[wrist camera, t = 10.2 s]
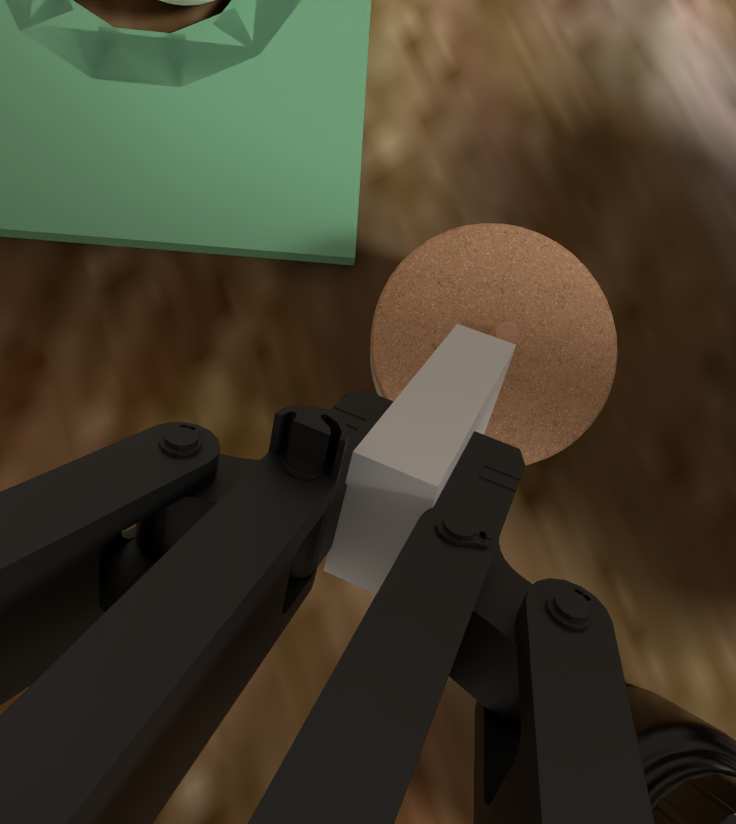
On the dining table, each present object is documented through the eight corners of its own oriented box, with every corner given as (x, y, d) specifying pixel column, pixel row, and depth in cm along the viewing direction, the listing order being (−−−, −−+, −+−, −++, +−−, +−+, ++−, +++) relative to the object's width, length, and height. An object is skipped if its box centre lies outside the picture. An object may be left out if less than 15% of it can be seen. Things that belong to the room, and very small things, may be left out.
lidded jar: (367, 267, 38) (385, 192, 28) (561, 287, 38) (640, 219, 29) (351, 466, 36) (365, 454, 27) (552, 482, 37) (633, 476, 28)
